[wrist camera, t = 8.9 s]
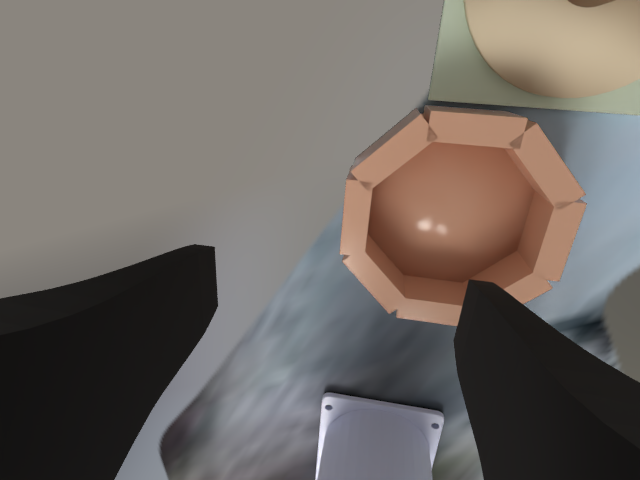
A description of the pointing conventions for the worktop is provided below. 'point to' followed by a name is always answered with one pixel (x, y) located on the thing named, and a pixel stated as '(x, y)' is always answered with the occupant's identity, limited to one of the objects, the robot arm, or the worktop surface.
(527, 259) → the dish
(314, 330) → the worktop surface
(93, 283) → the robot arm
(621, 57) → the lid
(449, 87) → the mat
